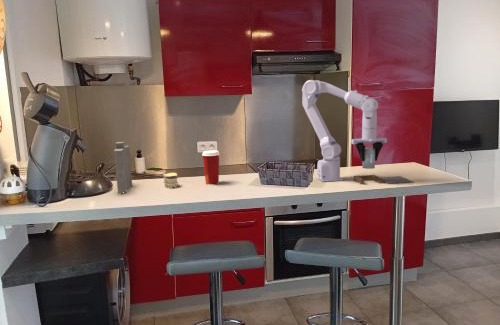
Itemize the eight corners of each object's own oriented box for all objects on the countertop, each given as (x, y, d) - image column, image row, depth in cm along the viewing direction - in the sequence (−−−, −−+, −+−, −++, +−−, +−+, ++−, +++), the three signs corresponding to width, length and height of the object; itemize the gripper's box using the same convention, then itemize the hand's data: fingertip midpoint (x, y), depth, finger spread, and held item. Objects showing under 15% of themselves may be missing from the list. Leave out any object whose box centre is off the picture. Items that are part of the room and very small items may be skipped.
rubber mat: (387, 184, 166) (387, 182, 166) (376, 178, 177) (376, 177, 177) (413, 182, 168) (413, 181, 168) (400, 177, 178) (400, 176, 178)
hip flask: (125, 193, 164) (121, 144, 160) (114, 194, 163) (110, 144, 160) (132, 184, 179) (129, 139, 176) (123, 185, 179) (119, 140, 176)
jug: (367, 169, 165) (367, 150, 164) (360, 166, 172) (360, 148, 171) (379, 169, 166) (379, 149, 164) (371, 166, 173) (372, 147, 171)
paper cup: (224, 181, 180) (222, 150, 177) (215, 185, 173) (214, 153, 170) (208, 180, 183) (207, 150, 180) (199, 184, 176) (198, 152, 174)
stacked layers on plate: (185, 187, 173) (185, 175, 172) (165, 190, 168) (165, 177, 167) (176, 183, 181) (176, 171, 180) (157, 186, 176) (156, 174, 175)
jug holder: (361, 184, 167) (361, 179, 167) (353, 180, 175) (354, 175, 174) (382, 183, 168) (382, 178, 168) (373, 179, 176) (374, 174, 176)
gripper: (356, 129, 162) (355, 163, 165) (390, 128, 164) (389, 161, 166) (349, 128, 169) (349, 160, 172) (382, 126, 171) (381, 158, 173)
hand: (368, 160), depth 169 cm, fingers closed on jug, 5 cm apart
